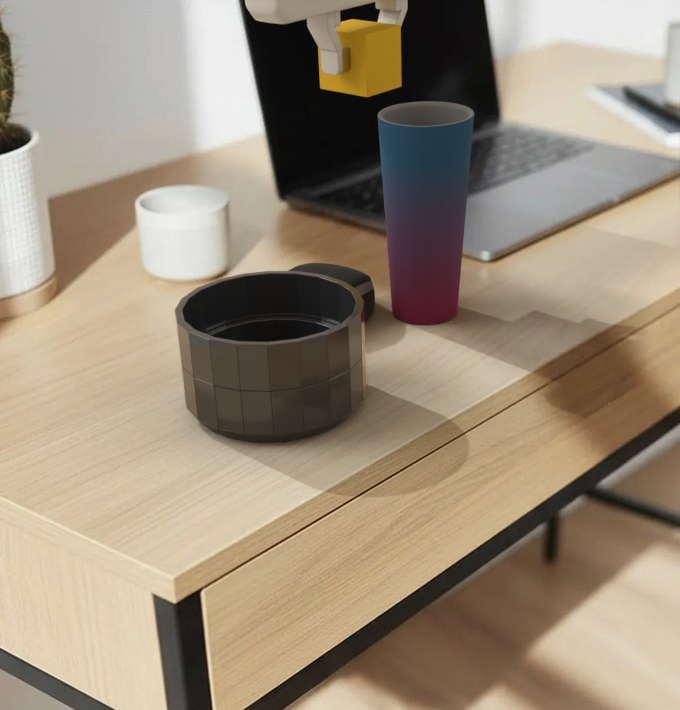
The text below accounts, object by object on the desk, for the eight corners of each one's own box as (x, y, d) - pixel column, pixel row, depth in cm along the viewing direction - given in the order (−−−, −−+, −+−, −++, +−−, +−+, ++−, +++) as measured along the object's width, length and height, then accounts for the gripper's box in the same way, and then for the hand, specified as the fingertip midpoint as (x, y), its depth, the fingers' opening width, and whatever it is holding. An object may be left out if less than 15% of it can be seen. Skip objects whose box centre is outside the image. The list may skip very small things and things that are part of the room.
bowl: (402, 396, 81) (401, 299, 77) (274, 466, 73) (266, 362, 70) (277, 349, 88) (271, 257, 84) (149, 408, 81) (136, 311, 77)
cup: (484, 319, 91) (491, 118, 83) (402, 336, 89) (401, 131, 81) (445, 288, 96) (448, 96, 88) (367, 303, 94) (362, 108, 86)
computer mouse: (231, 345, 89) (226, 294, 86) (318, 288, 97) (315, 241, 95) (312, 364, 85) (309, 311, 83) (394, 303, 94) (393, 254, 92)
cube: (402, 86, 93) (401, 25, 90) (367, 97, 90) (365, 34, 88) (354, 78, 96) (352, 18, 93) (319, 89, 93) (316, 27, 91)
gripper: (279, -122, 77) (294, 100, 84) (476, -151, 89) (473, 45, 96) (213, -125, 80) (233, 88, 88) (411, -152, 93) (413, 37, 100)
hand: (360, 65), depth 92 cm, fingers closed on cube, 4 cm apart
